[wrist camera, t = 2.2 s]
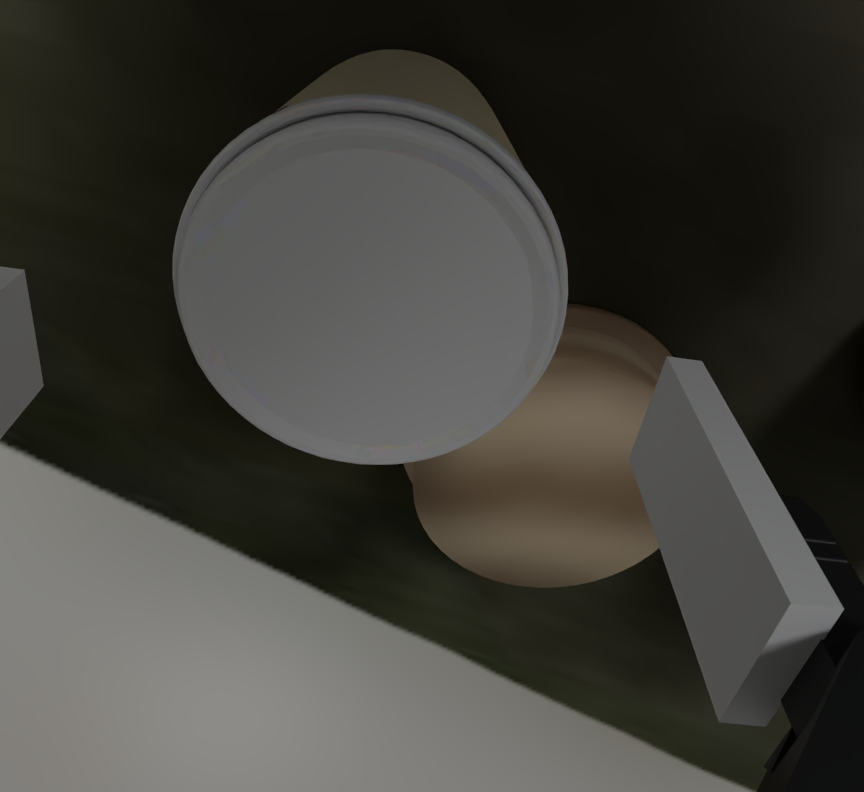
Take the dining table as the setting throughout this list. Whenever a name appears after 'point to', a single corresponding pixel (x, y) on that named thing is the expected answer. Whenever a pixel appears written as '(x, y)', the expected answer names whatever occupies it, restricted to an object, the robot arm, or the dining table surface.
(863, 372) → the coffee jar
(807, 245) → the dining table surface
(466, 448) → the pedestal
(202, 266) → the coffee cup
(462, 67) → the dining table surface
